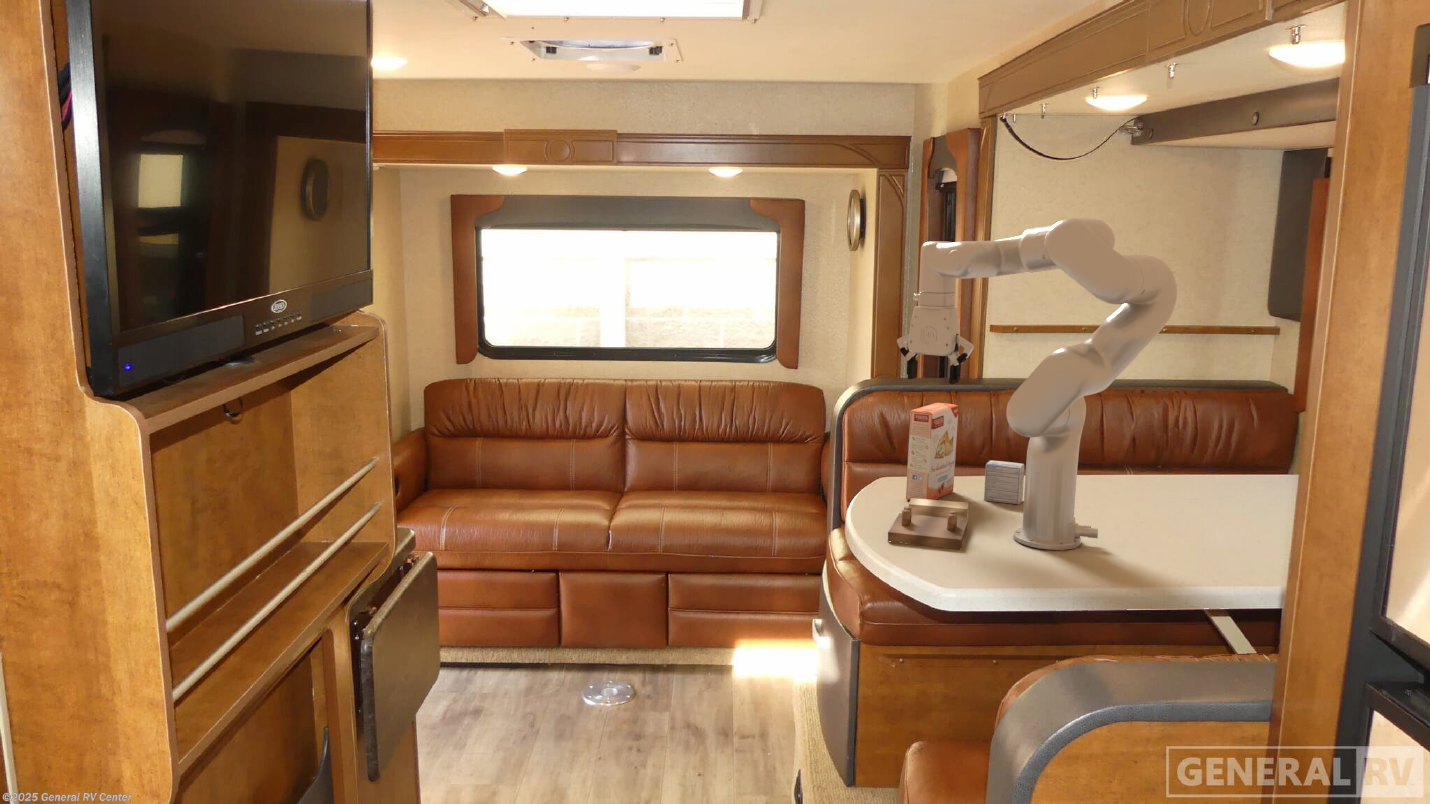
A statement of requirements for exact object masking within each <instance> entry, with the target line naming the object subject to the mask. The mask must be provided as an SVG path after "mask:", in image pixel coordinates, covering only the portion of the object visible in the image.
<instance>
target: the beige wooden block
mask: <svg viewBox="0 0 1430 804" xmlns="http://www.w3.org/2000/svg"><path fill="white" fill-rule="evenodd" d="M908 507H912V515H923V516H933V517H943V518H948V514H949V511H956V512H957V519H963V520H968V521H969V502H965V501H953V500H952V501H949V500H941V499H936V500H929V499H916V498H911V500H909V502H908Z"/></svg>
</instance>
